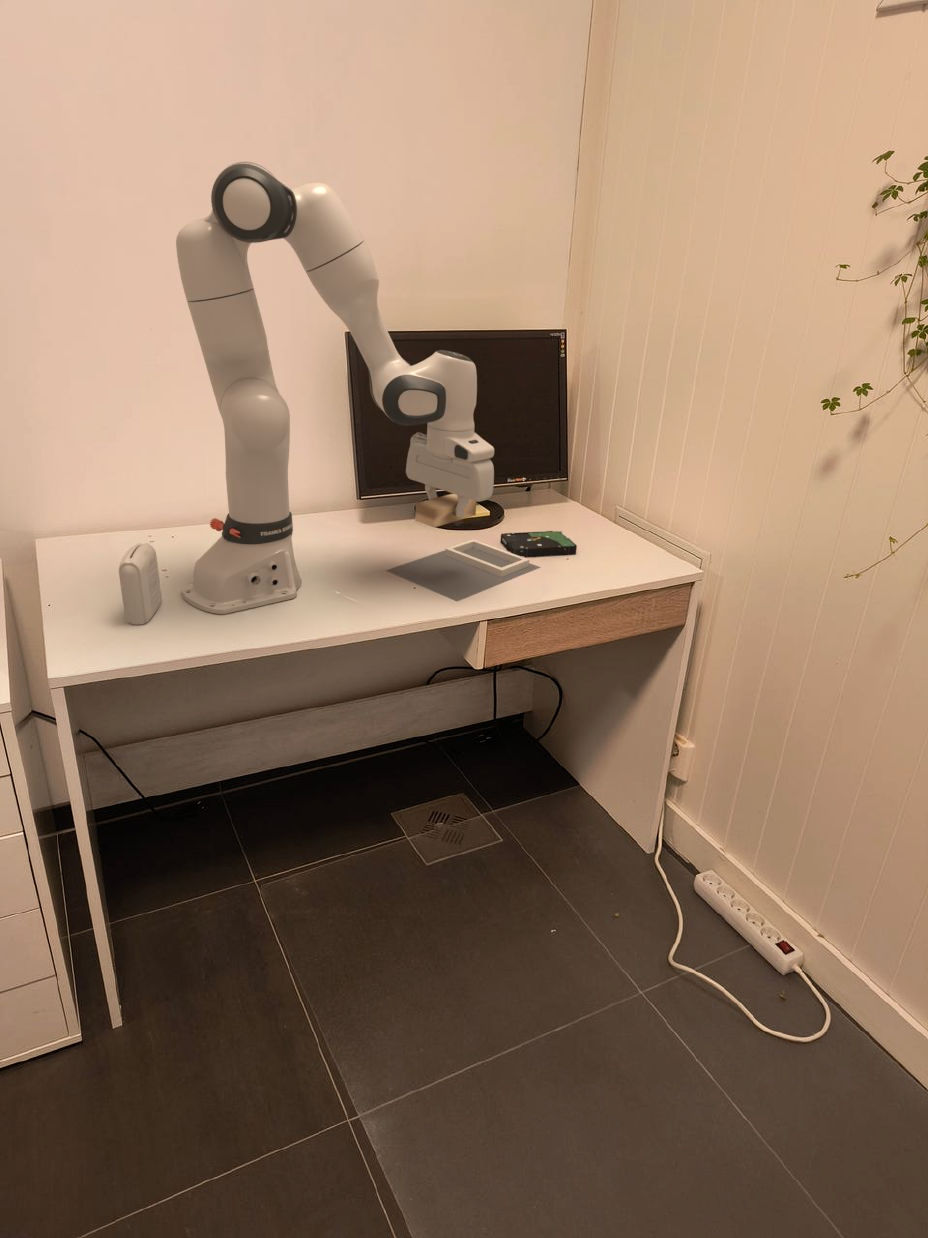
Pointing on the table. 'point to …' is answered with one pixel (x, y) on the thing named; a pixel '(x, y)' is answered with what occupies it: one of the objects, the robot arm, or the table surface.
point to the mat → (464, 569)
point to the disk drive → (538, 544)
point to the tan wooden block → (442, 510)
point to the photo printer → (140, 583)
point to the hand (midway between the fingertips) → (446, 511)
